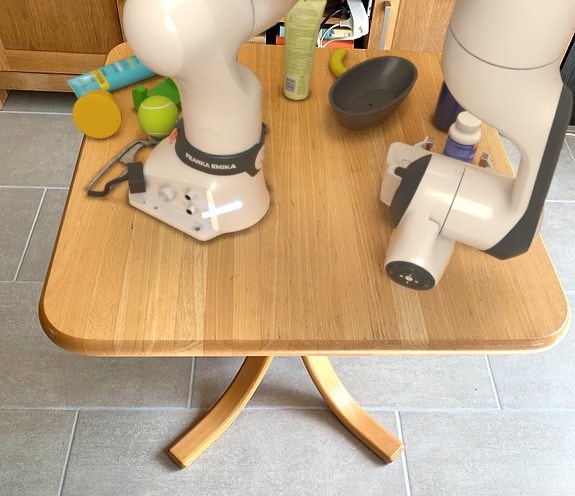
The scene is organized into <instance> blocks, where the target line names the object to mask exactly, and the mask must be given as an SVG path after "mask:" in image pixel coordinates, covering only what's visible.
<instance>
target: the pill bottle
mask: <svg viewBox="0 0 575 496" xmlns="http://www.w3.org/2000/svg"><path fill="white" fill-rule="evenodd" d="M482 123H483V121H481V120H479V119H478V118H476V117H474V116H473V115H471V114H470V113H469V112H467V111H465V112H461V113H460V114H459V115H458V117H457V119H456V122H455V123H453V124H452V125H451V127H450V129H449V132H447V136H446V138H445V139H446V140H445V143H444V145H443V149H442V152H441V155H444V156H447V157H451V158H454V159H457V160H460V161H464V162H467V163H470V164H473V161H474V158H475V156H476V153H477V150H478V147H479V145H480V142H481V139H482V130H481V126H482Z"/></svg>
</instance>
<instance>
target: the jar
mask: <svg viewBox="0 0 575 496" xmlns="http://www.w3.org/2000/svg"><path fill="white" fill-rule="evenodd" d="M465 111H466V110H465V109H464V108H463V107H462V106H461V105H460V104H459V103H458V102H457V101H456V99H455V98H454V97H453V95H452V94H451V92H450V91H449V89H448V87H447V85H446V83H445V81H444V78H443V79H442V83H441V86H440V89H439V94H438V97H437V100H436V104H435V107H434V110H433V115H432V116H431V117H432V118H431V123H432V125H433V126H434V127H435V128H436V129H438V130H439V131H441V132H444V133H448V132H449V129H450V127H451V125H452V124H453V123H455V122H456V119H457V117H458V115H459V114H460V113H461V112H465Z"/></svg>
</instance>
